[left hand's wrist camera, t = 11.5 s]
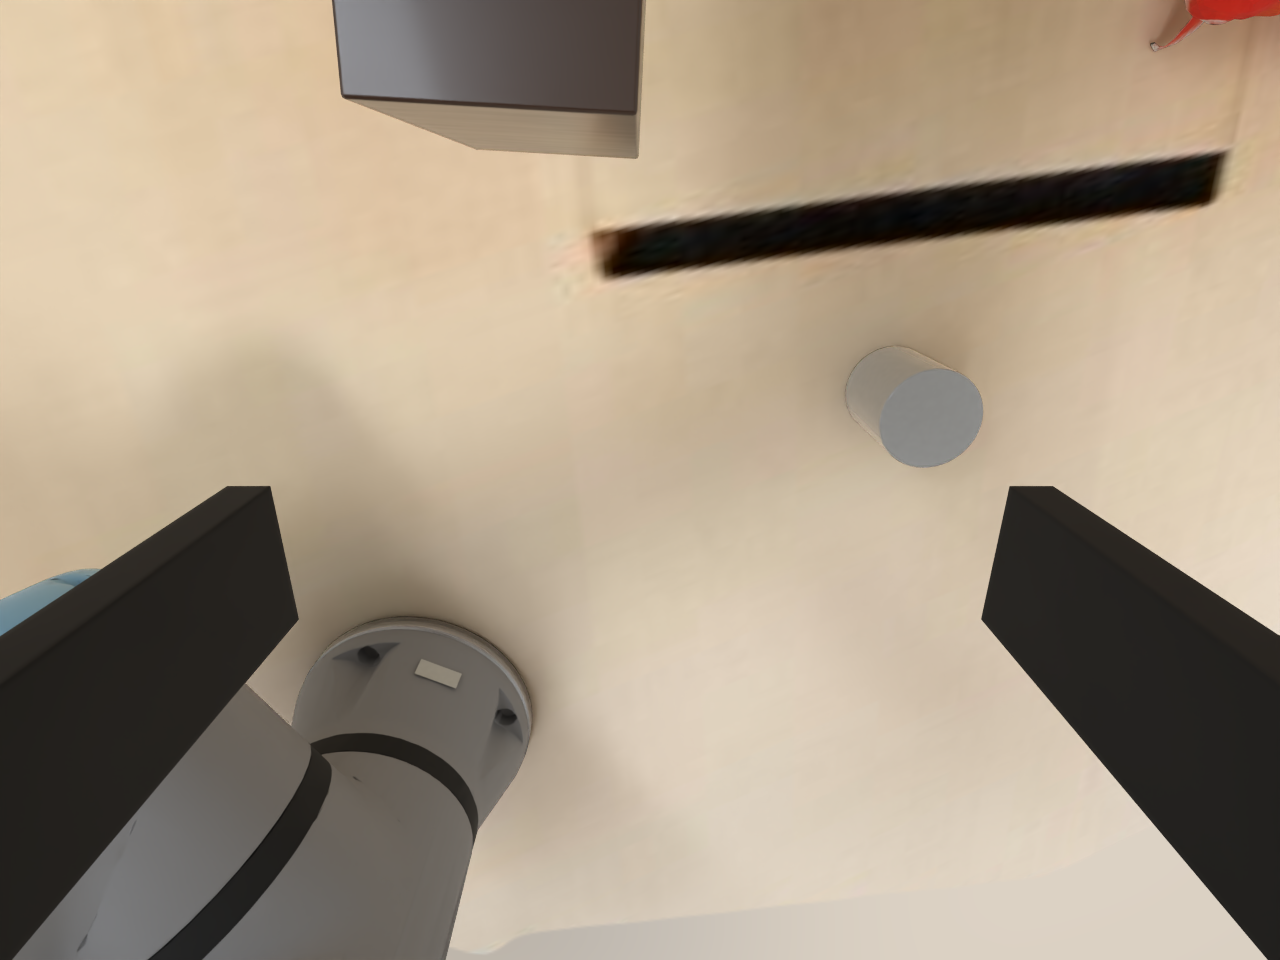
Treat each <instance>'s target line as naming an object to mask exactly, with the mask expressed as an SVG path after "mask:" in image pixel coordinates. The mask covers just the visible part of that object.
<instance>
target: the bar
mask: <svg viewBox="0 0 1280 960" xmlns="http://www.w3.org/2000/svg"><path fill="white" fill-rule="evenodd" d="M332 5H333V15H334V26H335V36H336V47H337V57H338V68H339V78H340V88H341V95H342V97H343V98H345V99H347V100H349V101H352V102H354V103H357V104H360V105H362V106H365V107H367V108H370V109H373V110H375V111H378V112H380V113H383V114H386V115H388V116H391V117H393V118H396V119H399V120H401V121H404V122H406V123H409V124H412V125H414V126H417V127H419V128H422V129H425V130H427V131H430V132H432V133H435V134H438V135H440V136H443V137H445V138H448V139H451V140H453V141H456V142H458V143H461V144H463V145H466V146H469V147H471V148H474V149H476V150H493V151H511V152H528V153H545V154H563V155H580V156H597V157H614V158H632V159H636V158H638V156H639V136H640V115H641V93H642V72H643V50H644V29H645V8H646V0H332Z"/></svg>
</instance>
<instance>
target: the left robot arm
mask: <svg viewBox="0 0 1280 960" xmlns="http://www.w3.org/2000/svg"><path fill="white" fill-rule="evenodd" d="M298 620H299V618H298V613H297V609H296V604H295V599H294V595H293V590H292V585H291V581H290V576H289V571H288V567H287V562H286V557H285V553H284V548H283V543H282V539H281V534H280V529H279V525H278V520H277V515H276V511H275V506H274V501H273V497H272V492H271V487H270V486H227V487H225V488H224V489H222V490H221V491H219V492H218V493H216V494H215V495H213V496H212V497H210V498H209V499H207V500H206V501H204V502H203V503H201V504H200V505H198V506H196V507H195V508H193V509H192V510H190V511H189V512H187V513H186V514H184V515H183V516H181V517H180V518H178V519H177V520H175V521H174V522H172V523H171V524H169V525H168V526H166V527H165V528H163V529H162V530H160V531H159V532H157V533H156V534H154V535H153V536H151V537H150V538H148V539H146V540H145V541H143V542H142V543H140V544H139V545H137V546H136V547H134V548H133V549H131V550H130V551H128V552H127V553H125V554H124V555H122V556H121V557H119V558H118V559H116V560H115V561H113V562H112V563H110V564H109V565H107V566H106V567H104V568H103V569H81V570H76V571H71V572H67V573H63V574H60V575H57V576H54V577H51V578H49V579H46V580H44V581H41V582H39V583H37V584H35V585H32V586H30V587H28V588H26V589H23V590H21V591H19V592H17V593H14V594H12V595H10V596H8V597H6V598H3V599H1V600H0V960H446V956H447V952H448V948H449V943H450V939H451V935H452V931H453V927H454V923H455V919H456V915H457V911H458V907H459V903H460V899H461V895H462V891H463V886H464V882H465V878H466V874H467V870H468V866H469V862H470V858H471V854H472V849H473V845H474V842H475V838H476V834H477V831H478V829H479V828H480V826H481V825H482V823H483V822H484V820H485V819H486V818H487V816H488V815H489V813H490V812H491V810H492V809H493V808H494V806H495V805H496V803H497V802H498V800H499V799H500V798H501V796H502V795H503V793H504V792H505V790H506V789H507V788H508V786H509V785H510V783H511V782H512V781H513V779H514V777H515V776H516V774H517V772H518V770H519V768H520V766H521V764H522V761H523V759H524V757H525V754H526V751H527V747H528V743H529V738H530V733H531V727H532V707H531V702H530V697H529V694H528V692H527V689H526V686H525V684H524V682H523V680H522V678H521V677H520V675H519V673H518V672H517V670H516V669H515V668H514V666H513V665H512V664H511V663H510V661H509V660H508V659H507V658H506V657H505V656H504V655H503V654H502V653H501V652H500V651H499V650H497V649H496V648H495V647H494V646H492V645H491V644H490V643H488V642H487V641H486V640H484V639H482V638H481V637H479V636H478V635H476V634H474V633H472V632H470V631H468V630H466V629H463V628H461V627H458V626H456V625H453V624H450V623H447V622H443V621H439V620H434V619H428V618H421V617H394V618H386V619H380V620H376V621H372V622H369V623H365V624H363V625H360V626H358V627H355V628H354V629H352V630H350V631H348V632H346V633H345V634H343V635H341V636H340V637H338V638H337V639H336V640H335V641H334V642H332V643H331V644H330V645H329V646H328V647H327V648H326V649H325V651H324V652H323V653H322V655H321V656H320V657H319V659H318V660H317V661H316V663H315V664H314V666H313V667H312V668H311V670H310V671H309V673H308V675H307V677H306V678H305V681H304V683H303V685H302V688H301V690H300V692H299V695H298V698H297V701H296V706H295V711H294V716H293V721H292V726H290V725H289V724H288V723H287V722H286V721H284V720H283V719H282V718H281V717H280V716H279V715H278V714H277V713H276V712H275V711H274V710H273V709H272V708H271V707H270V706H269V705H268V704H267V703H265V702H264V701H263V700H262V699H261V698H260V697H259V696H258V695H257V694H256V693H255V692H254V691H253V690H252V689H251V688H250V687H249V686H248V685H246V684H245V683H246V681H247V680H248V679H249V678H250V677H251V675H252V674H253V673H254V672H255V671H256V669H257V668H258V667H259V666H260V665H261V664H262V662H263V661H264V660H265V659H266V658H267V656H268V655H269V654H270V653H271V652H272V650H273V649H274V648H275V647H276V646H277V645H278V643H279V642H280V641H281V640H282V639H283V637H284V636H285V635H286V634H287V633H288V631H289V630H290V629H291V628H292V627H293V626H294V624H295V623H296V622H297V621H298ZM981 620H982V621H983V622H984V623H985V624H986V626H987V627H988V628H989V629H990V630H991V631H992V633H993V634H994V635H995V636H996V637H997V639H998V640H999V641H1000V642H1001V643H1002V645H1003V646H1004V647H1005V648H1006V649H1007V650H1008V652H1009V653H1010V654H1011V655H1012V656H1013V658H1014V659H1015V660H1016V661H1017V662H1018V664H1019V665H1020V666H1021V667H1022V668H1023V669H1024V671H1025V672H1026V673H1027V674H1028V675H1029V677H1030V678H1031V679H1032V680H1033V681H1034V683H1035V684H1036V685H1037V686H1038V687H1039V688H1040V690H1041V691H1042V692H1043V693H1044V694H1045V696H1046V697H1047V698H1048V699H1049V700H1050V702H1051V703H1052V704H1053V705H1054V706H1055V707H1056V709H1057V710H1058V711H1059V712H1060V713H1061V715H1062V716H1063V717H1064V718H1065V719H1066V721H1067V722H1068V723H1069V724H1070V725H1071V727H1072V728H1073V729H1074V730H1075V731H1076V732H1077V734H1078V735H1079V736H1080V737H1081V738H1082V740H1083V741H1084V742H1085V743H1086V744H1087V746H1088V747H1089V748H1090V749H1091V750H1092V751H1093V753H1094V754H1095V755H1096V756H1097V757H1098V759H1099V760H1100V761H1101V762H1102V763H1103V765H1104V766H1105V767H1106V768H1107V769H1108V770H1109V772H1110V773H1111V774H1112V775H1113V776H1114V778H1115V779H1116V780H1117V781H1118V782H1119V784H1120V785H1121V786H1122V787H1123V788H1124V789H1125V791H1126V792H1127V793H1128V794H1129V795H1130V797H1131V798H1132V799H1133V800H1134V801H1135V803H1136V804H1137V805H1138V806H1139V807H1140V808H1141V810H1142V811H1143V812H1144V813H1145V814H1146V816H1147V817H1148V818H1149V819H1150V820H1151V822H1152V823H1153V824H1154V825H1155V826H1156V827H1157V829H1158V830H1159V831H1160V832H1161V833H1162V835H1163V836H1164V837H1165V838H1166V839H1167V841H1168V842H1169V843H1170V844H1171V845H1172V847H1173V848H1174V849H1175V850H1176V851H1177V852H1178V854H1179V855H1180V856H1181V857H1182V858H1183V860H1184V861H1185V862H1186V863H1187V864H1188V866H1189V867H1190V868H1191V869H1192V870H1193V871H1194V873H1195V874H1196V875H1197V876H1198V877H1199V879H1200V880H1201V881H1202V882H1203V883H1204V885H1205V886H1206V887H1207V888H1208V889H1209V890H1210V892H1211V893H1212V894H1213V895H1214V896H1215V898H1216V899H1217V900H1218V901H1219V902H1220V904H1221V905H1222V906H1223V907H1224V908H1225V909H1226V911H1227V912H1228V913H1229V914H1230V915H1231V917H1232V918H1233V919H1234V920H1235V921H1236V923H1237V924H1238V925H1239V926H1240V927H1241V929H1242V930H1243V931H1244V932H1245V933H1246V934H1247V936H1248V937H1249V938H1250V939H1251V940H1252V942H1253V943H1254V944H1255V945H1256V946H1257V948H1258V949H1259V950H1260V951H1261V952H1262V953H1263V955H1264V956H1265V957H1266V958H1267V959H1268V960H1280V635H1277V634H1276V633H1274V632H1273V631H1271V630H1270V629H1268V628H1267V627H1265V626H1264V625H1262V624H1261V623H1259V622H1258V621H1256V620H1255V619H1253V618H1252V617H1250V616H1249V615H1247V614H1246V613H1244V612H1243V611H1241V610H1240V609H1238V608H1237V607H1235V606H1234V605H1232V604H1230V603H1229V602H1227V601H1226V600H1224V599H1223V598H1221V597H1220V596H1218V595H1217V594H1215V593H1214V592H1212V591H1211V590H1209V589H1208V588H1206V587H1205V586H1203V585H1202V584H1200V583H1199V582H1197V581H1196V580H1194V579H1193V578H1191V577H1190V576H1188V575H1187V574H1185V573H1184V572H1182V571H1180V570H1179V569H1177V568H1176V567H1174V566H1173V565H1171V564H1170V563H1168V562H1167V561H1165V560H1164V559H1162V558H1161V557H1159V556H1158V555H1156V554H1155V553H1153V552H1152V551H1150V550H1149V549H1147V548H1146V547H1144V546H1143V545H1141V544H1140V543H1138V542H1137V541H1135V540H1134V539H1132V538H1130V537H1129V536H1127V535H1126V534H1124V533H1123V532H1121V531H1120V530H1118V529H1117V528H1115V527H1114V526H1112V525H1111V524H1109V523H1108V522H1106V521H1105V520H1103V519H1102V518H1100V517H1099V516H1097V515H1096V514H1094V513H1093V512H1091V511H1090V510H1088V509H1087V508H1085V507H1084V506H1082V505H1080V504H1079V503H1077V502H1076V501H1074V500H1073V499H1071V498H1070V497H1068V496H1067V495H1065V494H1064V493H1062V492H1061V491H1059V490H1058V489H1056V488H1055V487H1053V486H1010V487H1009V492H1008V497H1007V501H1006V506H1005V511H1004V515H1003V520H1002V525H1001V529H1000V534H999V539H998V543H997V548H996V553H995V557H994V562H993V567H992V571H991V576H990V581H989V585H988V590H987V595H986V599H985V604H984V609H983V613H982V618H981Z"/></svg>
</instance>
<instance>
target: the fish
mask: <svg viewBox="0 0 1280 960" xmlns="http://www.w3.org/2000/svg"><path fill="white" fill-rule="evenodd" d="M1185 5H1186V10H1187V11H1188V12H1189V13H1190V14H1191V15H1192V18H1191V19H1190V21H1189V22H1188V23H1187V24H1186V25H1185V26H1184V28H1183V29H1182V30H1181V31H1180V32H1179V33H1178V34H1177V36H1176V37H1175V38H1174V39H1173V40H1172V41H1171V42H1170V43H1169V44H1167V45H1166V46H1158V45H1157V44H1156V43H1155V42H1154V43H1150V45H1151V47H1152V49H1153V50H1154V51H1157V50H1160V49H1163V48H1165V47H1168V46H1171V45H1173V44H1175V43H1177V42H1179V41H1181V40H1182V39H1184V38H1185V37H1187V36H1188V35H1190V34H1191V33H1193V32H1194V31H1195V30H1197V29H1198V28H1199V27H1200V26H1201V25H1202V24H1203V23H1204V22H1205V23H1207V24H1212V25H1219V24H1223V23H1226V22H1228V21H1231V20H1233V19H1246V18H1249V17H1252V16H1275V15H1279V14H1280V0H1185Z"/></svg>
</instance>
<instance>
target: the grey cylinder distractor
mask: <svg viewBox="0 0 1280 960" xmlns="http://www.w3.org/2000/svg"><path fill="white" fill-rule="evenodd" d="M845 397H846V404H847V408H848V410H849V413H850V414H851V416H852V417H853V419H854V420H855V421H856V422H857V423H858V424H859V425H860V426H861V427H862V428H863V429H864V430H865V431H866V432H867V433H868V434H869V435H871V436H872V437H873V438H874V439H875V440H876V441H877V442H878V443H879V444H880V445H881V446H882V447H883V448H884V449H885V450H886V451H887V452H888V453H889V454H890V455H891V456H892V457H893V458H895V459H896V460H898V461H899V462H901V463H903V464H906V465H909V466H913V467H922V468H924V467H934V466H938V465H941V464H944V463H947V462H949V461H951V460H953V459H954V458H956V457H957V456H959V455H960V454H961V453H963V452H964V451H965V450H966V449H967V448H968V447H969V446H970V444H971V443H972V442H973V440H974V439H975V437H976V435H977V433H978V431H979V429H980V426H981V423H982V418H983V404H982V399H981V396H980V393H979V391H978V389H977V388H976V386H975V385H974V383H973V382H972V381H971V380H970V379H968V378H967V377H966V376H964V375H963V374H961V373H959V372H957V371H955V370H953V369H951V368H949V367H947V366H945V365H943V364H941V363H939V362H937V361H935V360H933V359H931V358H929V357H927V356H925V355H923V354H921V353H919V352H917V351H915V350H913V349H910V348H907V347H902V346H890V347H885V348H881V349H878V350H876V351H874V352H872V353H870V354H869V355H867V356H866V357H865V358H863V359H862V360H861V361H860V362H859V363H858V364H857V365H856V367H855V368H854V369H853V371H852V373H851V375H850V377H849V379H848V382H847V386H846V393H845Z"/></svg>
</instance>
